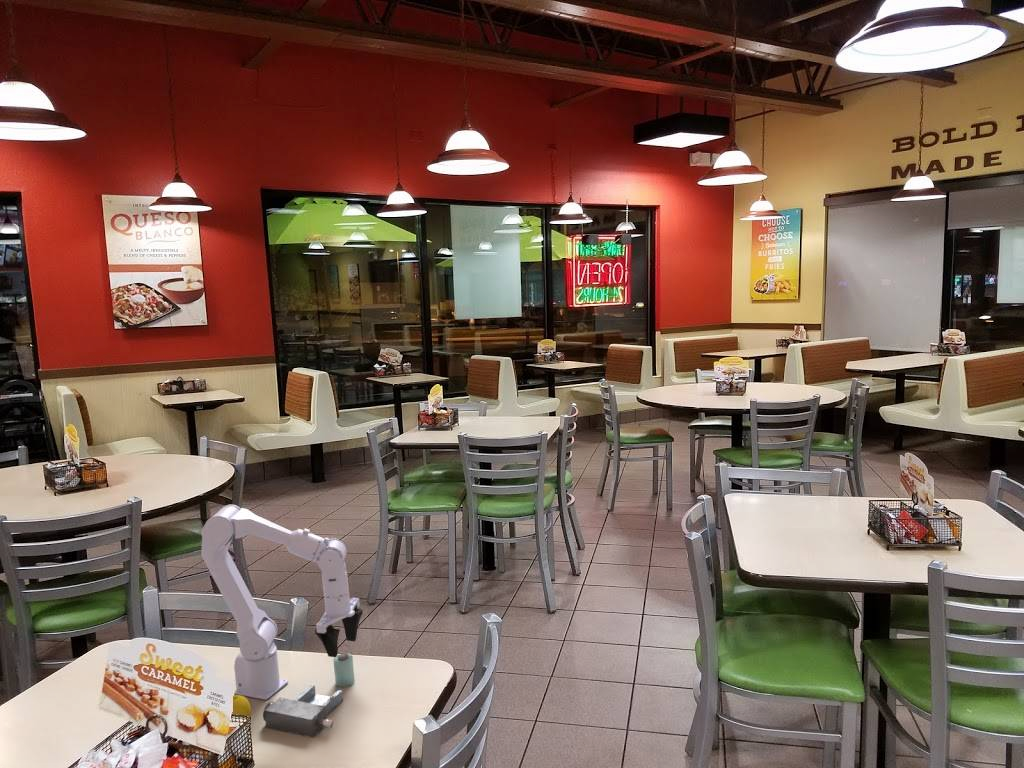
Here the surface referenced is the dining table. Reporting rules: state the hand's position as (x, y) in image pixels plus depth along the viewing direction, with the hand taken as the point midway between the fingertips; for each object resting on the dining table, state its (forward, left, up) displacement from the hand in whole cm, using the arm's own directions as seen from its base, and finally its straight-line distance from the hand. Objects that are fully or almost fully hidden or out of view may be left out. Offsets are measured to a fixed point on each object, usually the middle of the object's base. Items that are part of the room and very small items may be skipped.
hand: (342, 648), depth 169 cm
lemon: (-11, -23, -9) cm, 27 cm away
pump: (0, 0, -9) cm, 9 cm away
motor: (+1, -14, -8) cm, 16 cm away
